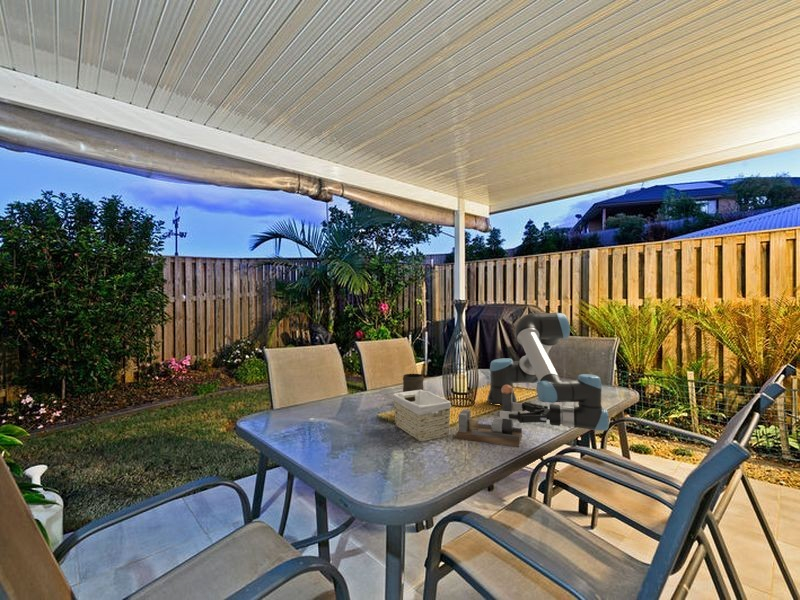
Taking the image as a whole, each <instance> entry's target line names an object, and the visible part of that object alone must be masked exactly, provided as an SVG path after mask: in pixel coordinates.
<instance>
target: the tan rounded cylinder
mask: <svg viewBox="0 0 800 600" xmlns="http://www.w3.org/2000/svg"><path fill="white" fill-rule="evenodd" d="M478 423H479V420H478V419H477V418H476V419H475V418H471V419H469V420H468V430H469V431H471V432H472V430H478Z"/></svg>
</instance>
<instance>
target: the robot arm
mask: <svg viewBox="0 0 800 600" xmlns="http://www.w3.org/2000/svg"><path fill="white" fill-rule="evenodd" d="M570 325H571V324H570V321H569V318H568V317H567V315H566V314H565V313H563V312H562V313H561V312H543V313H542V312H541V313H540V312H539V313H536V312H534V313H527V314H525V315H524V316H523V315H522V317H520V319H519V320H518V321H517V323H516V326H515V328H514V336H515V339H516V340H517V343H518V344H519V345H521V346H522V348H523V350H524V352H525V355H523V356H521V358H520V359H519V360H513V359H512V358H511V357H509V358H505V357H504V358H498V359H493V360H491V362H490V364H489V365H490V367H489V372H490V373H489V374H490V377H489V379H490V389H489V391H488V395H487V398H486V399H487V400H486V401H488V402H489V403H492V404H500V405H502V391H501V389H502V387H503V386H504V385H510V386H511V387H512V388H513V389H514V387H513V385H514V384H535V383H536V387H535V388H536V395H537V398H538V399H539V401H541V402H542V403H551V404H549V407H548V406H547V405H541V404H536V403H532V402H529V401H524V402H517V397H516V394H515V391H514V390H513V393H512V401H513V410H516V411H513V412H509V411H502V410H499V419H511V420H513V421H518V422H519V423H520V424H524V423H526V424H528V423H529V424H531V423H543V424H546V423H547V422H548V421H549V424H550V426H558V427H560V426H561V425H562V426H563V427H567V428H568V429H572V428H577V429H584V430H585V429H586V430H593V431H607V430H608V429H609V425H610V423H609V422H610V419H609V417H610V415H609V411H608V409H605V408H603V407H602V406H603V405H602V388H603V387H602V381H601V377H600V376H598V375H597V374H596V375H595V374H591V373H590V374H589V373H583V374H579V375H578V376H577V380H562V379H561V377H560V375H559V374H558V372H557V370H556V368H555V366H554V363H553V362H552V360H551V358H550V357H549V355H548V354H549V351H550V350H551V348H553V347H552V346H555V345H557V344H558V343H559V342H560V340H565V339H568V338H569V337H570V333H571V329H570V328H571V326H570ZM488 402H487V403H488ZM567 402H568V403H577V404H578V406H574V405H565V404H564V405H563V404H562V405H561V406H560V405H559V404H555V403H567ZM489 403H488V404H489ZM492 404H491V405H492ZM520 411H522V412H520Z"/></svg>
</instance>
